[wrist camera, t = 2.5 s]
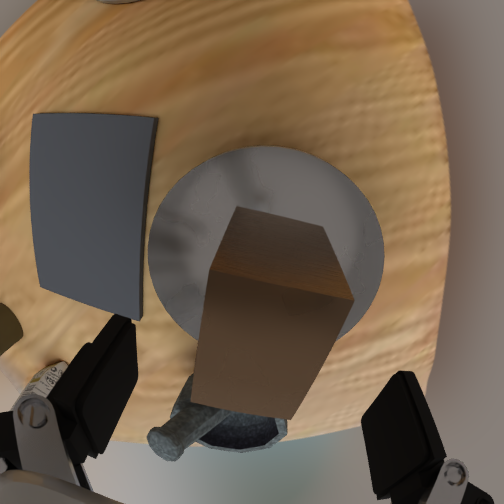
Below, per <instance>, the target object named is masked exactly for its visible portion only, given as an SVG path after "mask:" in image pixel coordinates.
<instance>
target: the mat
mask: <svg viewBox="0 0 504 504" xmlns="http://www.w3.org/2000/svg"><path fill="white" fill-rule="evenodd" d="M157 124H158V118H153V117H142V116H130V115H115V114H94V113H40V114H33V119H32V130H31V144H30V209H31V223H32V234H33V243H34V251H35V259H36V265H37V272H38V277H39V283H40V287H42V288H44V289H47V290H49V291H52V292H54V293H57V294H60V295H62V296H65V297H67V298H70V299H73V300H76V301H78V302H81V303H84V304H87V305H90V306H93V307H96V308H99V309H102V310H105V311H108V312H111V313H114V314H118V315H121V316H124V317H128V318H130V319H133V320H136V321H140V320H141V318H142V317H143V260H144V239H145V224H146V211H147V200H148V190H149V181H150V172H151V164H152V156H153V149H154V142H155V136H156V130H157Z"/></svg>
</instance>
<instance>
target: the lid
mask: <svg viewBox="0 0 504 504" xmlns="http://www.w3.org/2000/svg"><path fill="white" fill-rule="evenodd" d="M148 264H149V271H150V276H151V279H152V282H153V286H154V288H155V291H156V293H157V295H158V297H159V299H160V301H161V303H162V304H163V306H164V308H165V309H166V311H167V312H168V313H169V314H170V316H171V317H172V318H173V320H174V321H175V322H176V323H177V324H178V325H179V326H180V327H181V328H182V329H183V330H185V331H186V332H187V333H188V334H190V335H191V336H192V337H193V338H195V339H196V340H198V347H197V354H196V361H195V369H194V377H193V385H192V393H191V401H190V402H193V403H198V404H202V405H206V406H211V407H215V408H220V409H225V410H230V411H235V412H240V413H246V414H252V415H258V416H265V417H272V418H280V419H288V420H291V419H292V417H293V416H294V414H295V413H296V411H297V409H298V408H299V406H300V404H301V403H302V401H303V399H304V398H305V396H306V394H307V392H308V391H309V389H310V387H311V385H312V384H313V382H314V380H315V378H316V377H317V375H318V373H319V371H320V369H321V368H322V366H323V364H324V362H325V360H326V358H327V356H328V354H329V352H330V351H331V349H332V347H333V345H334V343H335V341H337V340H338V339H340V338H341V337H342V336H344V335H345V334H346V333H347V332H348V331H350V330H351V329H352V328H353V327H354V326H355V325H356V324H357V323H358V322H359V321H360V319H361V318H362V317H363V315H364V314H365V313H366V311H367V310H368V309H369V307H370V305H371V303H372V301H373V300H374V298H375V296H376V293H377V291H378V288H379V285H380V282H381V278H382V274H383V267H384V242H383V237H382V232H381V228H380V225H379V222H378V220H377V217H376V214H375V212H374V210H373V209H372V207H371V205H370V203H369V201H368V200H367V198H366V197H365V196H364V194H363V193H362V192H361V191H360V189H359V188H358V187H357V186H356V185H355V184H354V183H353V182H352V181H351V180H350V179H349V178H348V177H347V176H346V175H345V174H343V173H342V172H340V171H339V170H338V169H336V168H335V167H333V166H332V165H330V164H329V163H328V162H326V161H324V160H322V159H320V158H318V157H316V156H314V155H312V154H310V153H307V152H304V151H301V150H298V149H294V148H289V147H283V146H274V145H257V146H248V147H242V148H238V149H234V150H230V151H227V152H224V153H222V154H219V155H217V156H215V157H212V158H211V159H209V160H207V161H205V162H204V163H202V164H200V165H199V166H197V167H195V168H194V169H192V170H191V171H190V172H188V173H187V174H186V175H185V176H184V177H182V178H181V179H180V180H179V181H178V182H177V183H176V184H175V185H174V187H173V188H172V189H171V190H170V191H169V192H168V194H167V195H166V197H165V198H164V200H163V201H162V203H161V204H160V206H159V208H158V211H157V213H156V215H155V217H154V220H153V223H152V226H151V230H150V234H149V242H148Z"/></svg>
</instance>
